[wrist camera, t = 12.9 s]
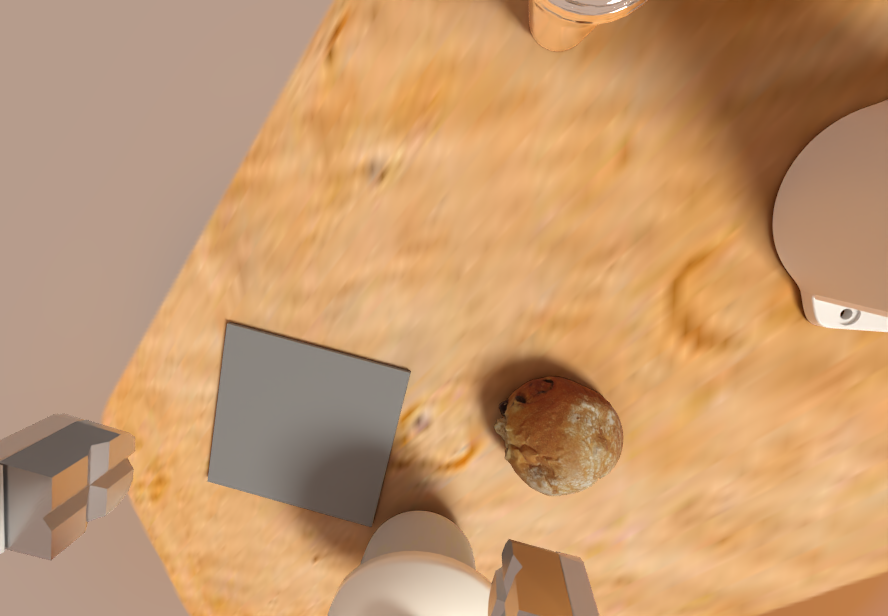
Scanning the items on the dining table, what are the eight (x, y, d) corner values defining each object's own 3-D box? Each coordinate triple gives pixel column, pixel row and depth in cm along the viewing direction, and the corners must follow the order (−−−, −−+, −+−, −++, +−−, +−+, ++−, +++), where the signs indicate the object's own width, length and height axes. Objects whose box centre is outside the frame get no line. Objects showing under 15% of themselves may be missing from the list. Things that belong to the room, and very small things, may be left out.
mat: (410, 371, 37) (410, 373, 37) (372, 524, 41) (371, 527, 41) (229, 322, 37) (226, 323, 37) (210, 478, 42) (207, 481, 41)
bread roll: (539, 458, 42) (582, 530, 35) (465, 428, 37) (499, 505, 31) (606, 387, 40) (665, 451, 33) (536, 346, 35) (590, 410, 28)
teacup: (355, 508, 41) (326, 578, 33) (457, 479, 39) (451, 546, 32) (407, 616, 44) (391, 704, 36) (505, 594, 42) (510, 681, 34)
